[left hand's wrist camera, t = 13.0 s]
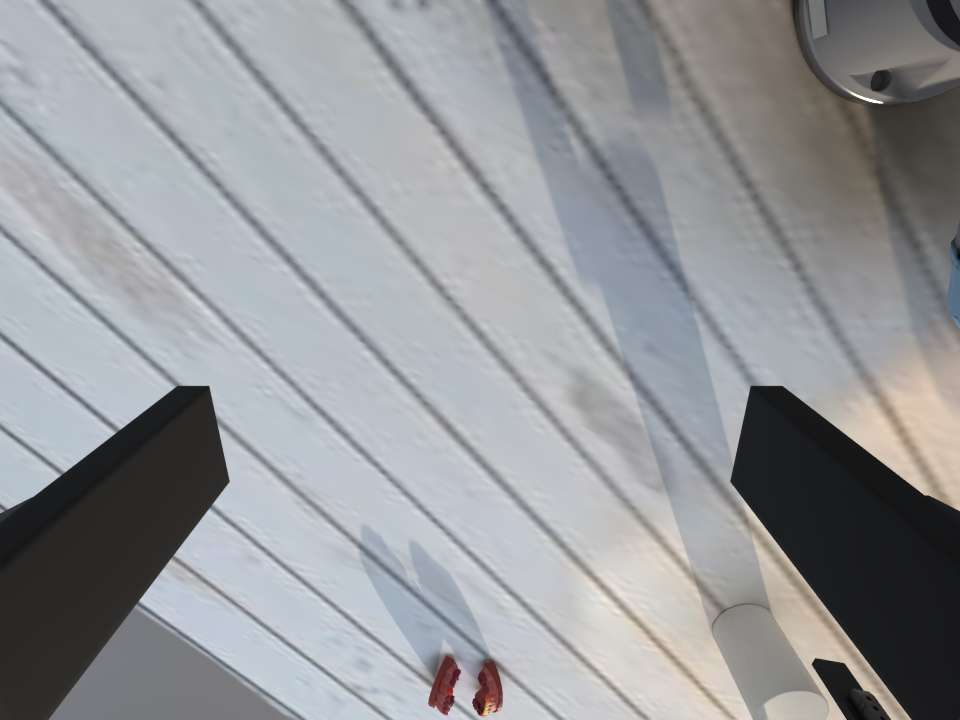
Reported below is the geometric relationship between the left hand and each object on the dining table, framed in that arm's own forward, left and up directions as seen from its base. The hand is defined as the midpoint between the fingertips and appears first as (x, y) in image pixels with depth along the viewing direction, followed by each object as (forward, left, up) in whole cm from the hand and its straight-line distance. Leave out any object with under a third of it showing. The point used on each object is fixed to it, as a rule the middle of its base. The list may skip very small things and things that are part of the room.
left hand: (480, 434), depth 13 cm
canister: (-7, +50, -30) cm, 59 cm away
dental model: (+24, +43, -30) cm, 57 cm away
